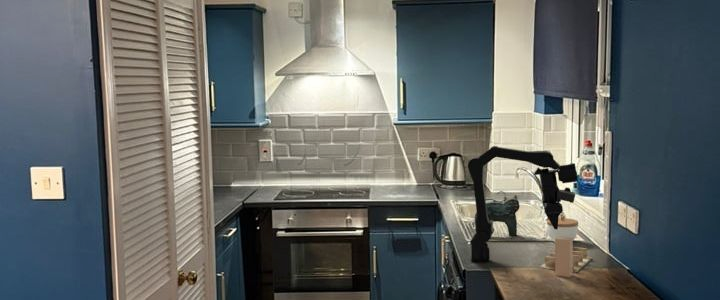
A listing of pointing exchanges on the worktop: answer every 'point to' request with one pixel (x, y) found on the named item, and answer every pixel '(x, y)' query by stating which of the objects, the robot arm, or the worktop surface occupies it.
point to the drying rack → (578, 259)
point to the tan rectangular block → (564, 256)
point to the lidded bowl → (563, 228)
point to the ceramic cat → (503, 212)
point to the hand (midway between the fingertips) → (555, 226)
